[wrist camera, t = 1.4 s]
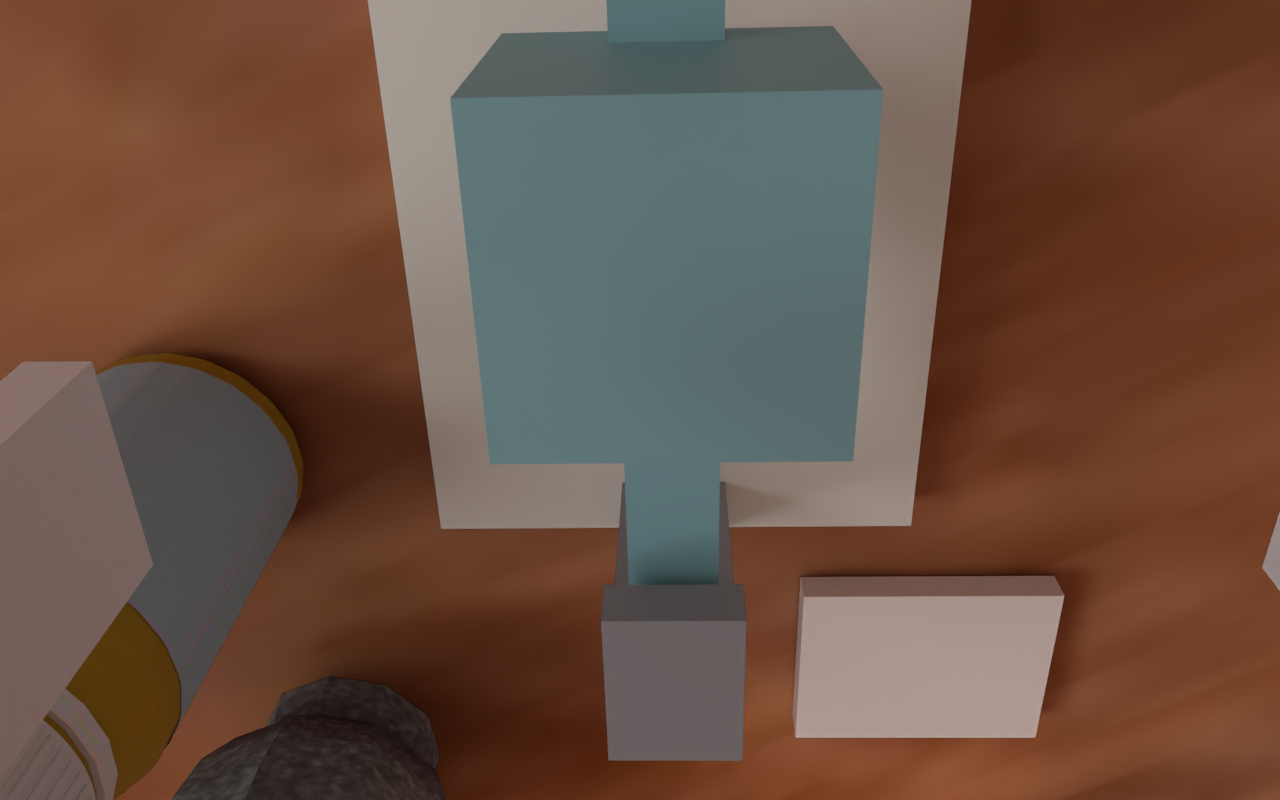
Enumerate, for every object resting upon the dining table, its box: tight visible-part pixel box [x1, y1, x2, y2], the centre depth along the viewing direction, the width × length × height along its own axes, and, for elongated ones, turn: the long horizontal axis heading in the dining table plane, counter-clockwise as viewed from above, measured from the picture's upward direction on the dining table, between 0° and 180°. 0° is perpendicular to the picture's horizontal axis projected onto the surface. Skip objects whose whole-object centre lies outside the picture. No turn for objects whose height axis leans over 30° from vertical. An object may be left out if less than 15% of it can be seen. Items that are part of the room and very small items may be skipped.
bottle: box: [0, 353, 303, 800], centre depth 26 cm, size 7×7×15 cm
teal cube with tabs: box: [450, 0, 883, 585], centre depth 19 cm, size 6×19×5 cm, turn 1°
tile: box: [793, 576, 1064, 738], centre depth 35 cm, size 8×6×1 cm
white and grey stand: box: [368, 0, 972, 761], centre depth 22 cm, size 14×24×11 cm, turn 1°
